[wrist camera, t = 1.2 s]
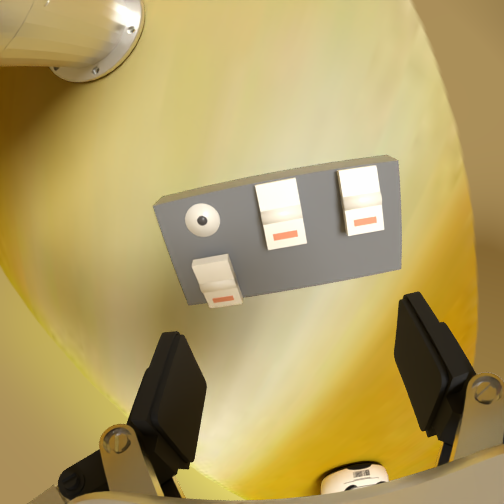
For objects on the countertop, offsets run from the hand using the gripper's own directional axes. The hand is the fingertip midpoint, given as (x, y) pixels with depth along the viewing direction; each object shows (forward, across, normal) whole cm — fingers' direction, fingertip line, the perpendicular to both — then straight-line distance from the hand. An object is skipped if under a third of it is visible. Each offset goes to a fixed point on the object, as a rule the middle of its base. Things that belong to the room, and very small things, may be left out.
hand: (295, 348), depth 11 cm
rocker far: (+19, +7, +8) cm, 22 cm away
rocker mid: (+19, 0, +2) cm, 19 cm away
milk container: (+23, -8, +74) cm, 78 cm away
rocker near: (+19, -8, +2) cm, 20 cm away
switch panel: (+23, 0, +5) cm, 24 cm away
